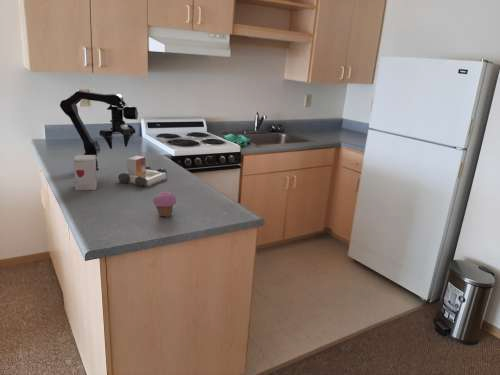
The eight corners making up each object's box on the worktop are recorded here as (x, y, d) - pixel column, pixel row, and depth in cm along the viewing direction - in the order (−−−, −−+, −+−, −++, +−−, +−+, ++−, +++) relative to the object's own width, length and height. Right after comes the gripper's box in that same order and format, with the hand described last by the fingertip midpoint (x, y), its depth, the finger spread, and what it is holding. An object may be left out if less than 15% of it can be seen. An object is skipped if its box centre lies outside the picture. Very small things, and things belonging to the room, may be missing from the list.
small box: (136, 180, 202) (135, 159, 199) (127, 178, 204) (126, 158, 201) (146, 176, 209) (145, 156, 206) (137, 174, 211) (136, 155, 208)
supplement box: (75, 190, 185) (72, 159, 181) (77, 184, 193) (75, 154, 189) (96, 190, 188) (94, 159, 183) (97, 184, 196) (95, 154, 191)
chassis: (145, 188, 195) (145, 178, 193) (117, 182, 201) (116, 172, 199) (168, 178, 212) (168, 169, 211) (142, 173, 218) (142, 164, 217)
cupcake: (177, 212, 167) (177, 189, 164) (174, 220, 159) (174, 196, 156) (155, 211, 167) (155, 188, 164) (151, 219, 159) (151, 195, 156)
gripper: (110, 122, 199) (112, 152, 204) (141, 119, 214) (142, 148, 218) (98, 119, 206) (99, 149, 210) (128, 116, 220) (129, 144, 225)
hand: (118, 147), depth 216 cm, fingers open, 9 cm apart
